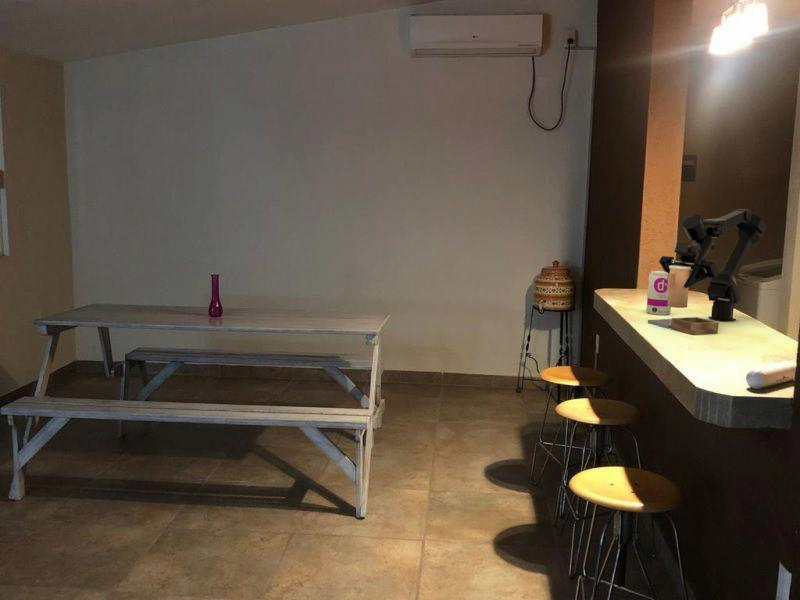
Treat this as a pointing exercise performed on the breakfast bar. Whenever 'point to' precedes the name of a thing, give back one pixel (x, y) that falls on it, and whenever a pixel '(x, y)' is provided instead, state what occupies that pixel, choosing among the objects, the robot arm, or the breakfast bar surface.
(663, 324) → the tile
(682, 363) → the breakfast bar surface
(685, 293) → the peach plastic cup
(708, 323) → the frame
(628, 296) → the breakfast bar surface
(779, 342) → the breakfast bar surface
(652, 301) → the supplement can
